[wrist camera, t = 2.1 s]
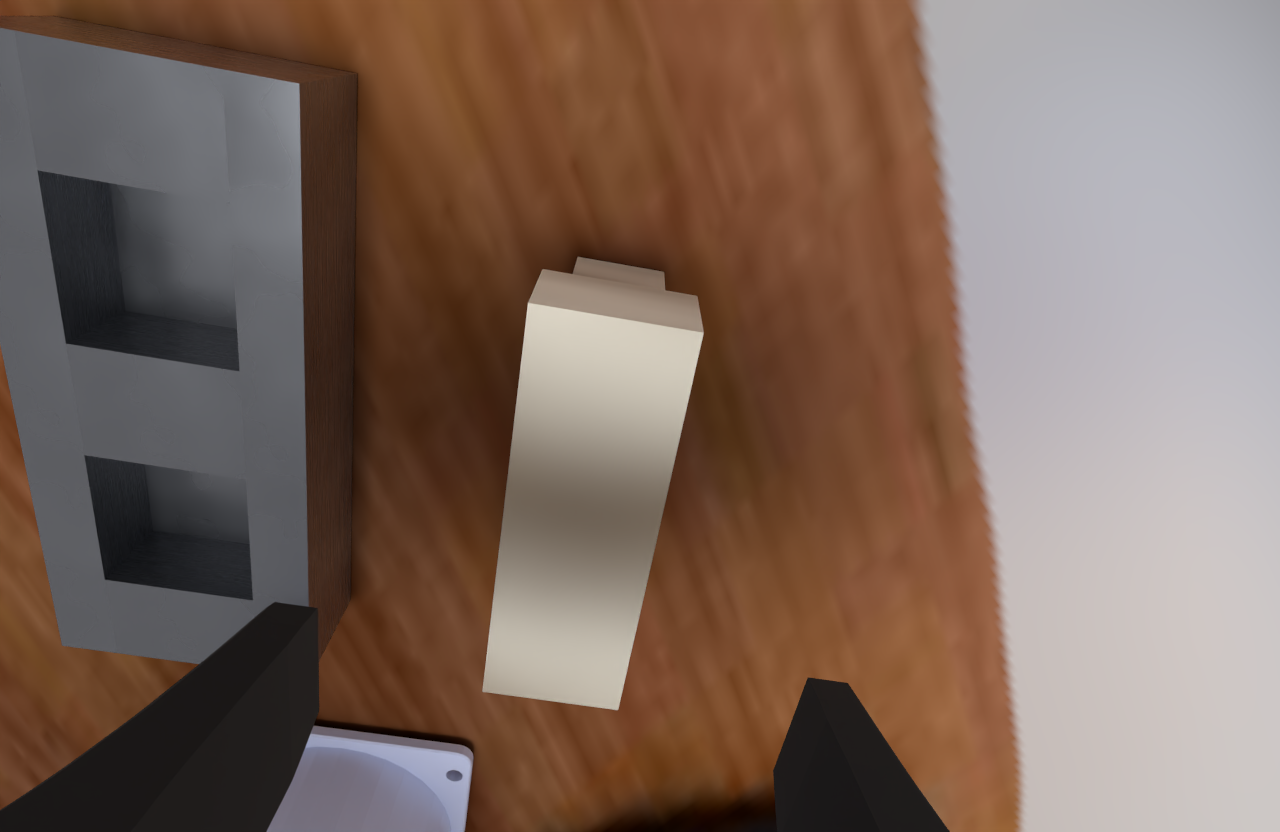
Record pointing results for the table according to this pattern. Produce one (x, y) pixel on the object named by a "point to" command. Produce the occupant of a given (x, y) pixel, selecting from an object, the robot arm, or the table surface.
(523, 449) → the cream stepped block
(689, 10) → the table surface
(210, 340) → the slot rail
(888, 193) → the table surface
